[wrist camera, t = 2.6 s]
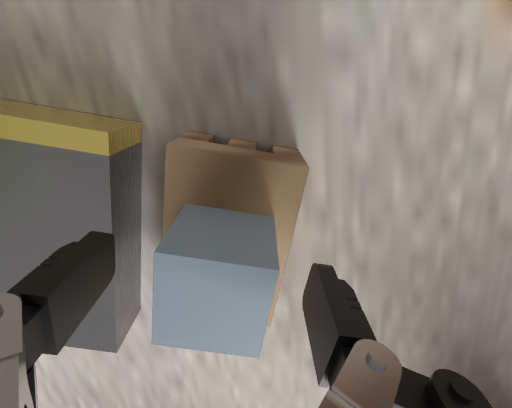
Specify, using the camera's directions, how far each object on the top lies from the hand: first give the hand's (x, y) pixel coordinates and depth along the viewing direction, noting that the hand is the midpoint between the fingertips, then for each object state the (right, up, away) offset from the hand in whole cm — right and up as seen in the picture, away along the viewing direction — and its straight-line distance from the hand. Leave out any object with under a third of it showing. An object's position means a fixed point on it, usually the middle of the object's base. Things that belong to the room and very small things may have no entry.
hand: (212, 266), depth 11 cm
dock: (-11, +2, +6) cm, 12 cm away
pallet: (0, +2, +6) cm, 6 cm away
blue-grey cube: (0, 0, +2) cm, 2 cm away
